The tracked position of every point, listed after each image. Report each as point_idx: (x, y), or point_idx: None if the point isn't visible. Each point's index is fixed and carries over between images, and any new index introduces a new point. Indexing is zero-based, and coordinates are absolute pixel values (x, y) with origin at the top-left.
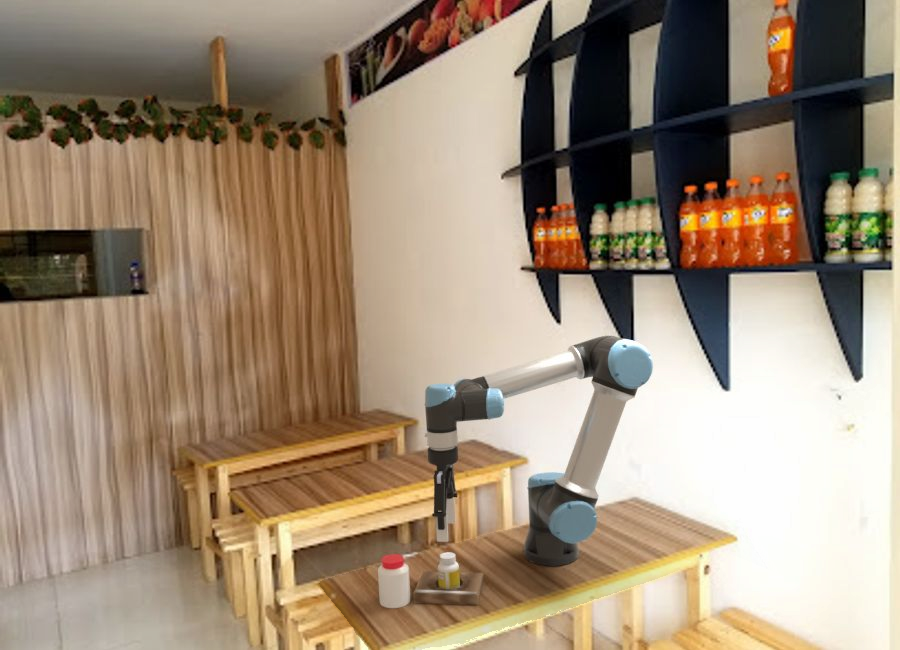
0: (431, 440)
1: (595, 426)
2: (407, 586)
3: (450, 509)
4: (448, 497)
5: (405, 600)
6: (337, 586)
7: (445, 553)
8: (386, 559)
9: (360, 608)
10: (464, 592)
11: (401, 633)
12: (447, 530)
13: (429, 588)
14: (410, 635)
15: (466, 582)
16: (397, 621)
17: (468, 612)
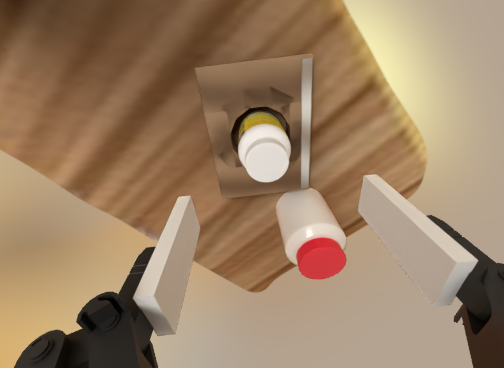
0: None
1: None
2: (316, 203)
3: (179, 256)
4: (147, 328)
5: (316, 193)
6: (267, 279)
7: (256, 172)
8: (327, 271)
9: None
10: (308, 89)
11: (401, 167)
12: (401, 200)
13: (289, 167)
14: (409, 152)
15: (252, 99)
16: None
17: (338, 68)
